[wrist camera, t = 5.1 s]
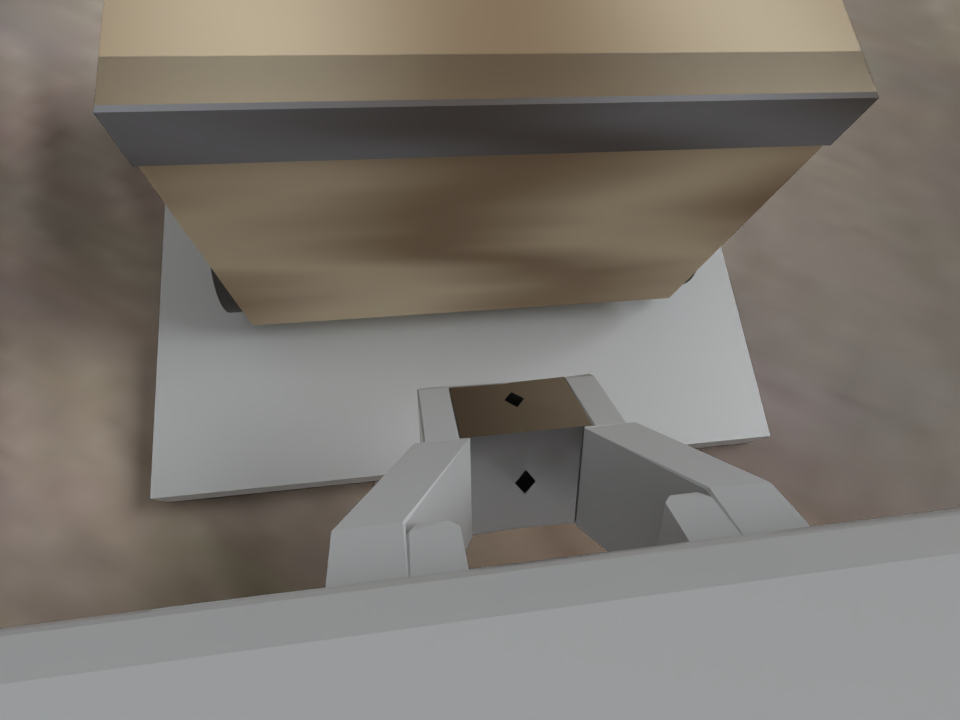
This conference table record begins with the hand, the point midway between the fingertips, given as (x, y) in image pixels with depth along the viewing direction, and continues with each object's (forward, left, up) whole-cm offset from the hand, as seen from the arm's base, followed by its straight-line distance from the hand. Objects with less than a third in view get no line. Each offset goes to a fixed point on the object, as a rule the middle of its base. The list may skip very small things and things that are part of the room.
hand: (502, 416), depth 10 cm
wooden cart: (0, -8, -4) cm, 9 cm away
